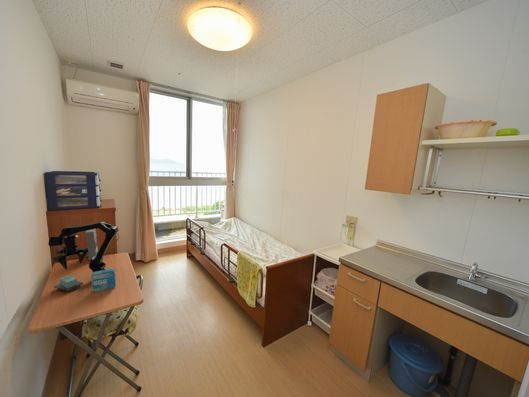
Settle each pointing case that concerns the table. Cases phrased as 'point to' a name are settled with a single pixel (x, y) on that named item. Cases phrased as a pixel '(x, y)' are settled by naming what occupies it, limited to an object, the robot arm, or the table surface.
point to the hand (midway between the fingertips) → (73, 266)
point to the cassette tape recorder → (91, 243)
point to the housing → (68, 281)
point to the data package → (103, 280)
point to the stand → (63, 288)
